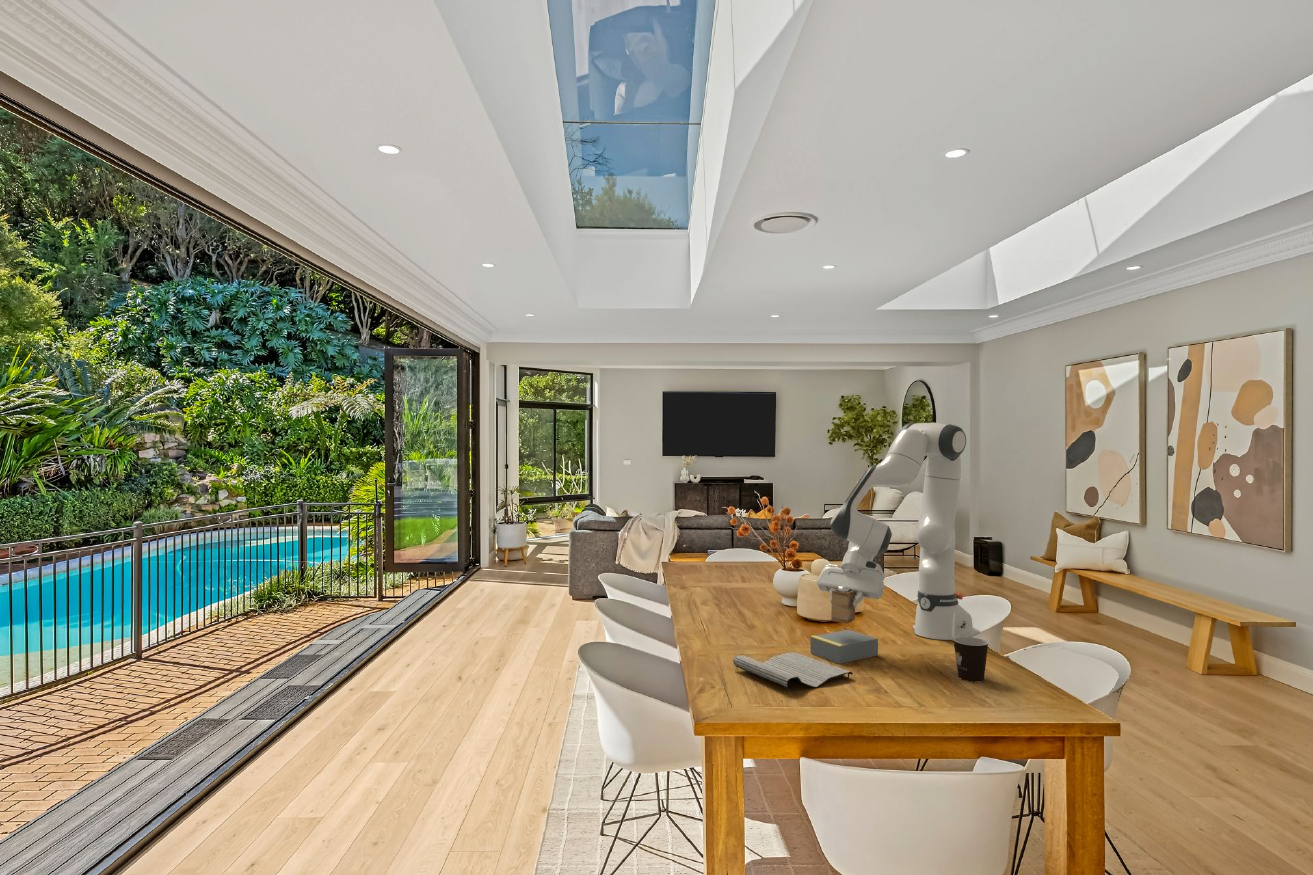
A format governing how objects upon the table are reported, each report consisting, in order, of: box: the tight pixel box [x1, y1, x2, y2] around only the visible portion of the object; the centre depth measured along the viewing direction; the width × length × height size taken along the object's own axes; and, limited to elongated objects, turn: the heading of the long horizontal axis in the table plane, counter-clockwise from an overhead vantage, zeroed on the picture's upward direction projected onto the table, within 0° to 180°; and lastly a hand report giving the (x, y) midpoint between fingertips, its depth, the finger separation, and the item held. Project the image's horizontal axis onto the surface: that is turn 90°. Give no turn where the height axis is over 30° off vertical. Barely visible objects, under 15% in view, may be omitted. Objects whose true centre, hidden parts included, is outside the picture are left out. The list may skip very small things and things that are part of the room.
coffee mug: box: [952, 636, 989, 683], centre depth 185 cm, size 12×9×10 cm
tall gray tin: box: [830, 589, 856, 625], centre depth 205 cm, size 6×5×9 cm
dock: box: [810, 629, 879, 665], centre depth 205 cm, size 16×12×5 cm
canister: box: [838, 586, 849, 593], centre depth 206 cm, size 3×3×2 cm
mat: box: [732, 651, 853, 693], centre depth 187 cm, size 23×24×5 cm
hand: (842, 604), depth 205 cm, fingers closed on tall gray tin, 5 cm apart
